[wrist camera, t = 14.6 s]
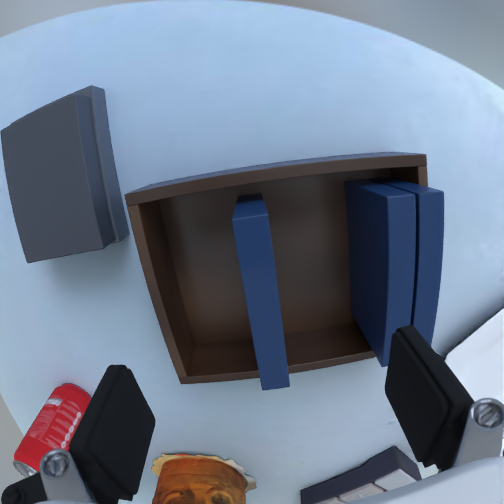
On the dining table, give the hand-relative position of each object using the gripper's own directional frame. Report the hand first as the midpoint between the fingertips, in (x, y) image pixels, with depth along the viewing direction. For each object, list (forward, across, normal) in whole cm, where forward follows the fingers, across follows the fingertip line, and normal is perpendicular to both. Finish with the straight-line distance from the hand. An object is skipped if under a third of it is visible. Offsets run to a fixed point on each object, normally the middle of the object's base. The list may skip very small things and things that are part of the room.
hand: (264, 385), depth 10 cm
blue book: (+12, 0, 0) cm, 12 cm away
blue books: (+12, -8, 0) cm, 15 cm away
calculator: (+12, -10, +36) cm, 40 cm away
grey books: (+13, +13, -9) cm, 20 cm away
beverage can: (+13, +22, +13) cm, 29 cm away
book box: (+13, -2, 0) cm, 13 cm away
